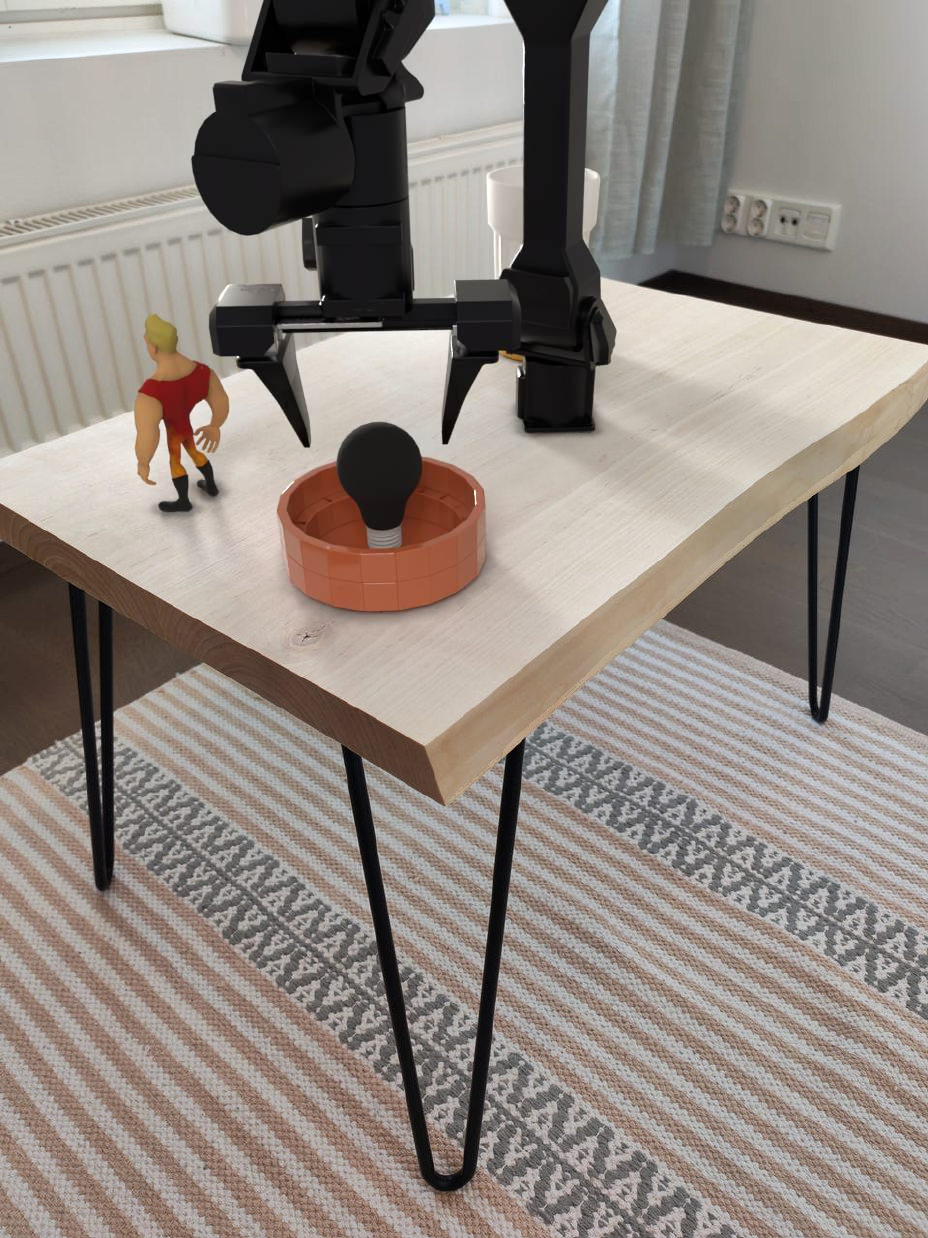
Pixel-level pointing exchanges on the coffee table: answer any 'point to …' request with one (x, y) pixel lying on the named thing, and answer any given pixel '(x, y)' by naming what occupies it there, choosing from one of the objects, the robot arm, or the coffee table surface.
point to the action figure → (177, 412)
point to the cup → (509, 214)
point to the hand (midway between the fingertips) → (376, 443)
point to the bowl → (384, 577)
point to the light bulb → (380, 478)
